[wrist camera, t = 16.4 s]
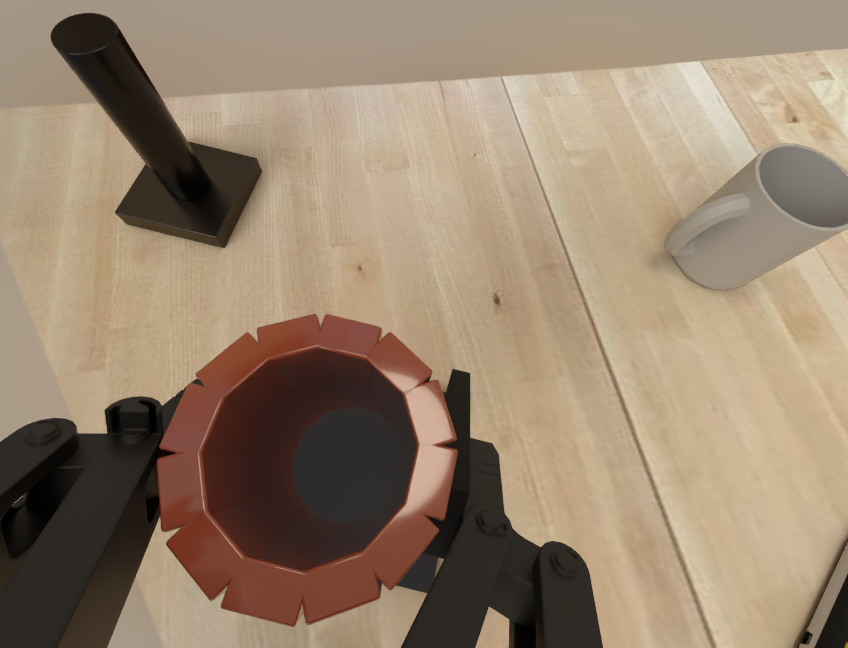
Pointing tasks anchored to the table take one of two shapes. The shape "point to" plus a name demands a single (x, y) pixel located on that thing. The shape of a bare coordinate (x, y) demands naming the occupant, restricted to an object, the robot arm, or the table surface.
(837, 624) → the remote control
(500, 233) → the table surface
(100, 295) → the table surface
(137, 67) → the post stand
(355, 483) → the mat
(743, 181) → the cup
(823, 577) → the table surface
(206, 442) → the sleeve ring
